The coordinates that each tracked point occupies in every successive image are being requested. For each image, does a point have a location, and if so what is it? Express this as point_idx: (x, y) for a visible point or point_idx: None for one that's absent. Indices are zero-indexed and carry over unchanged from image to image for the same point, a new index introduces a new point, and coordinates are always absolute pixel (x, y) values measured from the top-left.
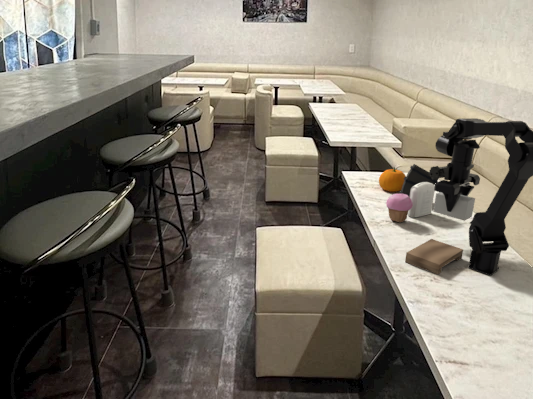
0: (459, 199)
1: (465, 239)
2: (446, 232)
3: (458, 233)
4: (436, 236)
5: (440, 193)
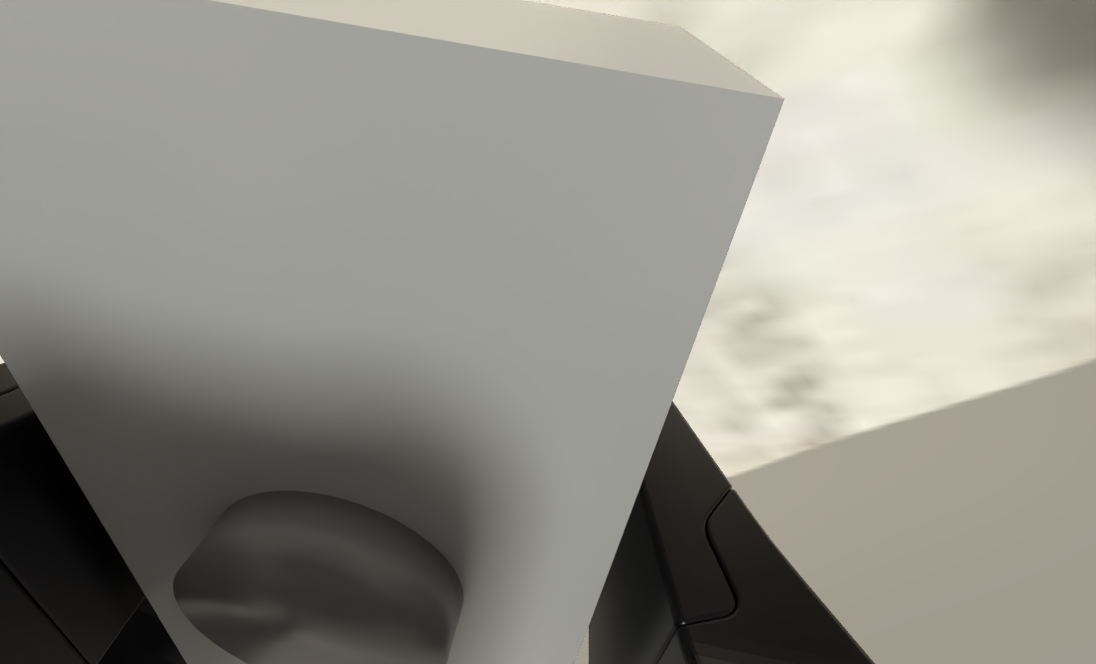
0: (178, 632)
1: (737, 259)
2: (840, 65)
3: (868, 177)
4: (654, 10)
5: (30, 135)
